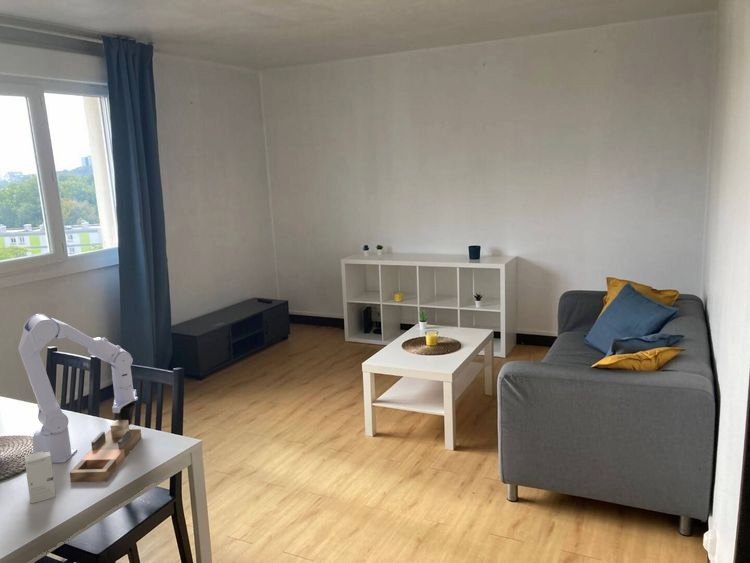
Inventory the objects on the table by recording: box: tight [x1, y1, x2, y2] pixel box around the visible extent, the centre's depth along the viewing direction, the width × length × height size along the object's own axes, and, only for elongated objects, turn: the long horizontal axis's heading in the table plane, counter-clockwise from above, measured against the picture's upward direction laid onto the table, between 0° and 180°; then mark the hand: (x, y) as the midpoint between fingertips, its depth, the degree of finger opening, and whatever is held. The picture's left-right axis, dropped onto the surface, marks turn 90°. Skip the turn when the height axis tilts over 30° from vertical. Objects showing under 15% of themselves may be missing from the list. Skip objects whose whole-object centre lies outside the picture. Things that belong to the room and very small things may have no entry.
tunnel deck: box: [69, 428, 142, 483], centre depth 179 cm, size 10×26×6 cm, turn 1°
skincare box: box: [24, 450, 56, 504], centre depth 159 cm, size 6×4×12 cm
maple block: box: [110, 419, 130, 438], centre depth 188 cm, size 4×4×4 cm
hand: (127, 424), depth 194 cm, fingers closed
